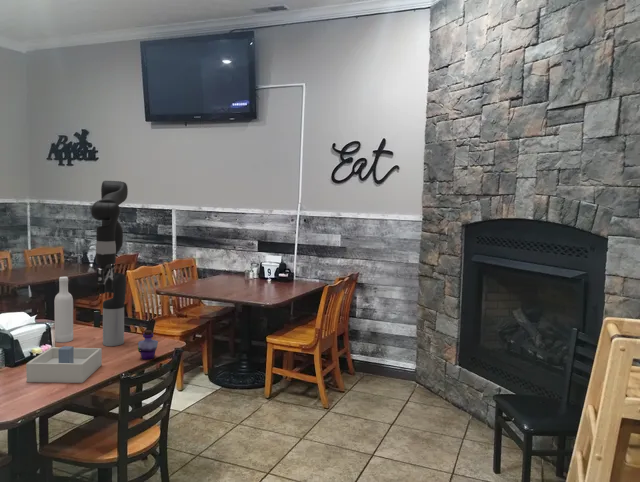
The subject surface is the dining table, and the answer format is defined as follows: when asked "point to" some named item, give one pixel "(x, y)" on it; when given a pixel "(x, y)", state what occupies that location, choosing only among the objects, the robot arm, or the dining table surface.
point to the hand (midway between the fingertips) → (105, 291)
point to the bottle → (63, 312)
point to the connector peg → (66, 354)
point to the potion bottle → (147, 346)
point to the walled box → (64, 366)
